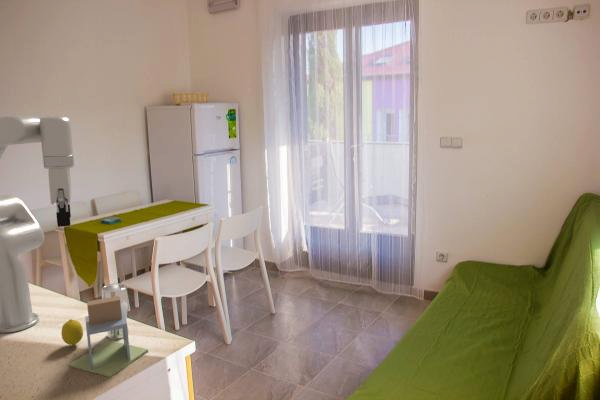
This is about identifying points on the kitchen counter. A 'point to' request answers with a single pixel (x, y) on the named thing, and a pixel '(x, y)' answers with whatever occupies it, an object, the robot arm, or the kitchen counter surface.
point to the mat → (109, 358)
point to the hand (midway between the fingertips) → (64, 221)
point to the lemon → (72, 332)
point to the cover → (106, 320)
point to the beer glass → (120, 291)
